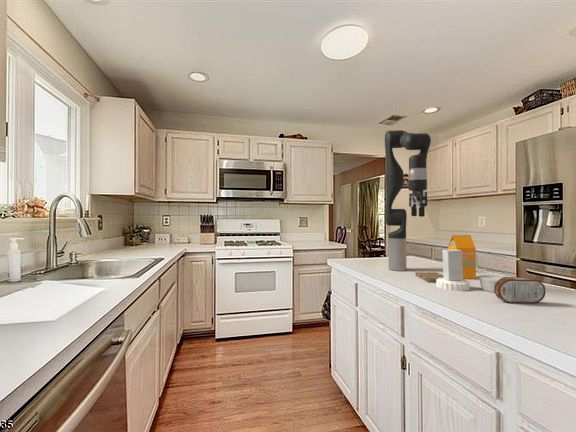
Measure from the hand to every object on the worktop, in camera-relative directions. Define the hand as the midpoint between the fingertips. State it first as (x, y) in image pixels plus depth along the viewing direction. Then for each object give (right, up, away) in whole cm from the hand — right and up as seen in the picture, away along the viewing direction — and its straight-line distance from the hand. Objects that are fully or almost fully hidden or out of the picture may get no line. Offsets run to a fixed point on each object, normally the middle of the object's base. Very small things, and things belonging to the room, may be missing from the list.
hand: (417, 216), depth 132 cm
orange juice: (+26, -29, +11) cm, 40 cm away
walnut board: (+10, -29, +8) cm, 32 cm away
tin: (+21, -29, -31) cm, 47 cm away
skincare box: (+10, -26, -9) cm, 29 cm away
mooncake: (+10, -30, -9) cm, 33 cm away
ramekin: (+24, -29, -15) cm, 41 cm away
